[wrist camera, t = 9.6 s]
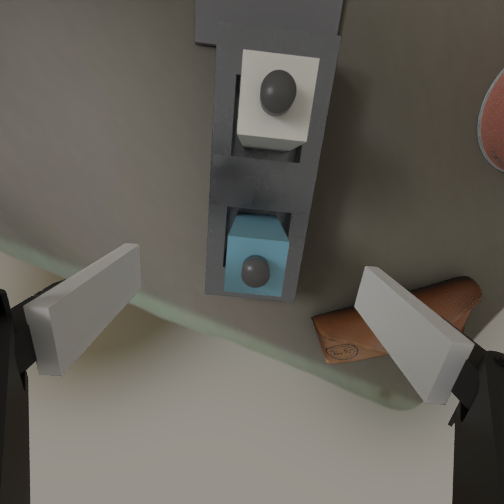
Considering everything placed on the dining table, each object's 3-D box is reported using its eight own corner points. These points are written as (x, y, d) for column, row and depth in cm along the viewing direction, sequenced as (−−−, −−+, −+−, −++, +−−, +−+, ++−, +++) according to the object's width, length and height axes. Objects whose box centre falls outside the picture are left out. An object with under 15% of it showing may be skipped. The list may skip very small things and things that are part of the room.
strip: (288, 284, 29) (294, 302, 25) (211, 277, 28) (204, 294, 25) (326, 59, 22) (341, 36, 18) (224, 47, 21) (217, 20, 18)
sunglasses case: (325, 368, 32) (332, 385, 26) (308, 315, 34) (311, 318, 27) (468, 332, 30) (515, 340, 24) (442, 277, 32) (480, 271, 26)
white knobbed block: (244, 148, 23) (235, 131, 13) (248, 101, 22) (241, 37, 12) (285, 153, 24) (311, 139, 13) (291, 106, 22) (325, 47, 12)
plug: (234, 248, 27) (221, 299, 16) (238, 211, 25) (225, 240, 15) (271, 251, 27) (282, 305, 16) (276, 215, 25) (292, 247, 15)
